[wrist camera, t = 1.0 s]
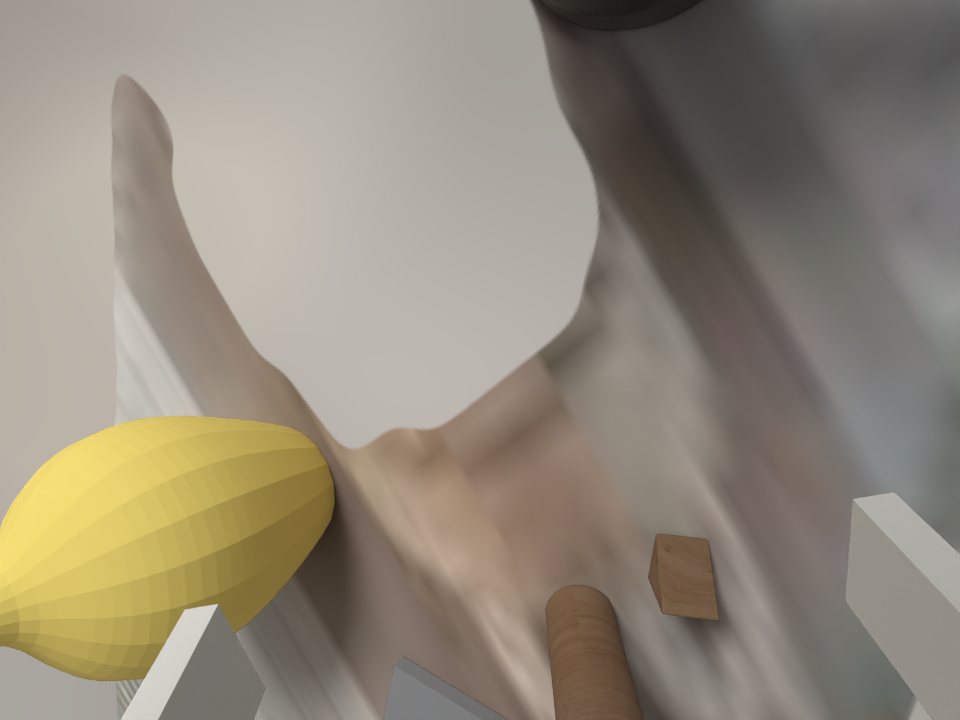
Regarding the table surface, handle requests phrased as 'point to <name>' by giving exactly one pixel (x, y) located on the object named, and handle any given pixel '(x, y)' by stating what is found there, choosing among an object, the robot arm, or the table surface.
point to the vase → (155, 537)
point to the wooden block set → (595, 636)
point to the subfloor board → (429, 698)
